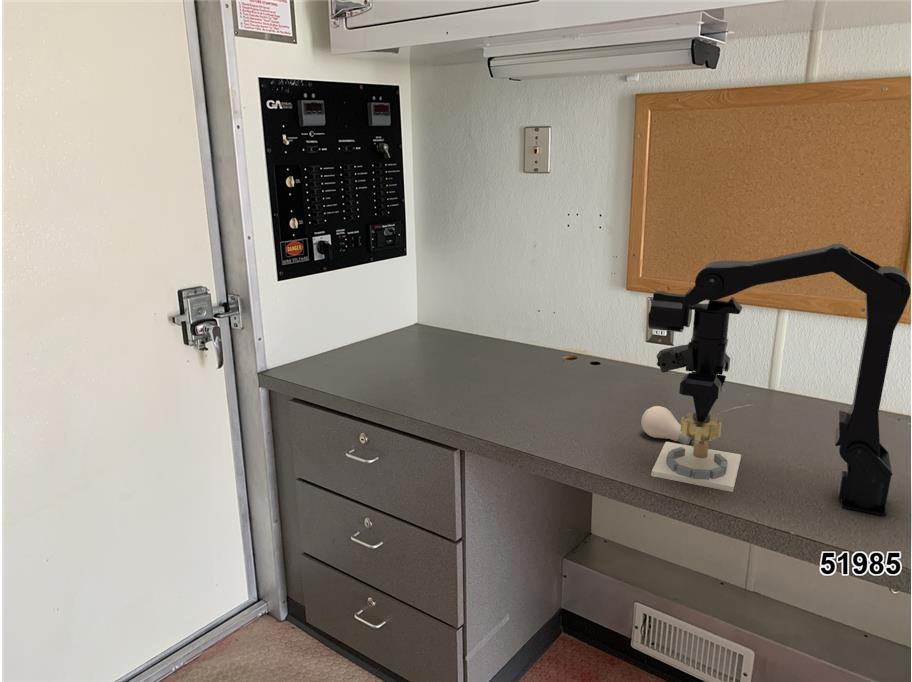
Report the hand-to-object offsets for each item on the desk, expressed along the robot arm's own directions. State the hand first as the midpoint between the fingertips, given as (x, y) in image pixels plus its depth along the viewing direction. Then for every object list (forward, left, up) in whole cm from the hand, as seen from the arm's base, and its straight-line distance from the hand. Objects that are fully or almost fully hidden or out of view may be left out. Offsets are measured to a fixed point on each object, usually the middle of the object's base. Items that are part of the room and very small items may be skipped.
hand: (701, 418), depth 128 cm
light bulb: (+8, -12, -11) cm, 18 cm away
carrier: (0, -1, -11) cm, 11 cm away
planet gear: (0, 0, -3) cm, 3 cm away
